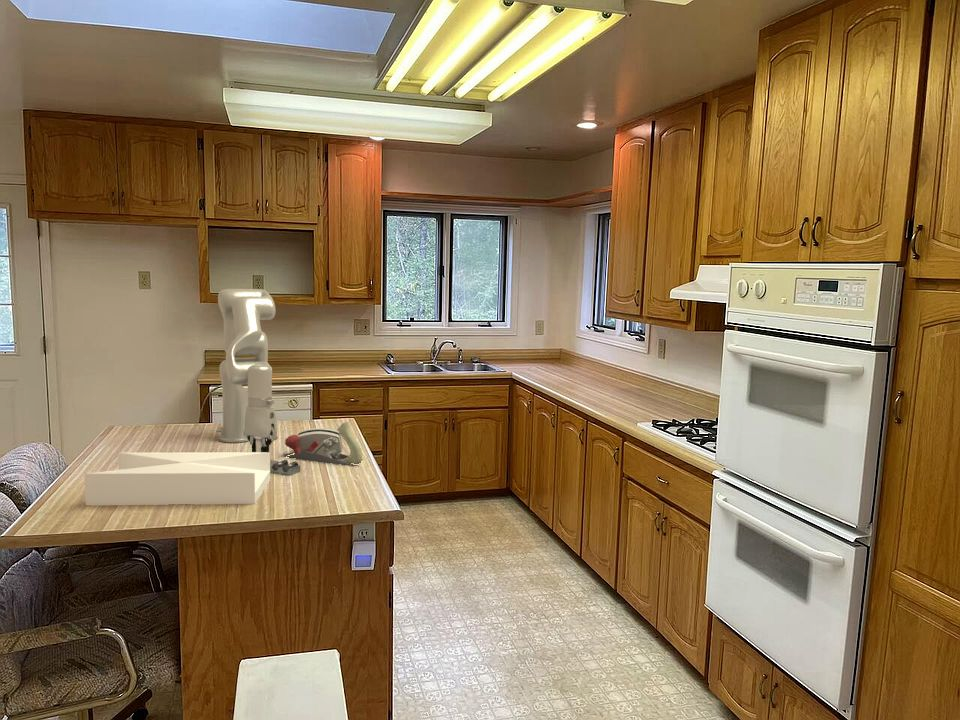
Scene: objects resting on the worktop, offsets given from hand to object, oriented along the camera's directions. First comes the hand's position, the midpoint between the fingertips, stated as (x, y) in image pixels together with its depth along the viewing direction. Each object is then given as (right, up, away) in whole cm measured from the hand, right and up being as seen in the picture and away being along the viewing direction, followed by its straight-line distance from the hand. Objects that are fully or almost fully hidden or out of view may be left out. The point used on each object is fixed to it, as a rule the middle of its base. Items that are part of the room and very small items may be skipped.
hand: (260, 456), depth 225 cm
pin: (0, -4, 0) cm, 4 cm away
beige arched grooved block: (+14, -2, +23) cm, 27 cm away
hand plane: (+18, -4, +13) cm, 23 cm away
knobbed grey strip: (-2, -4, +1) cm, 4 cm away
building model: (-14, -7, -26) cm, 30 cm away
